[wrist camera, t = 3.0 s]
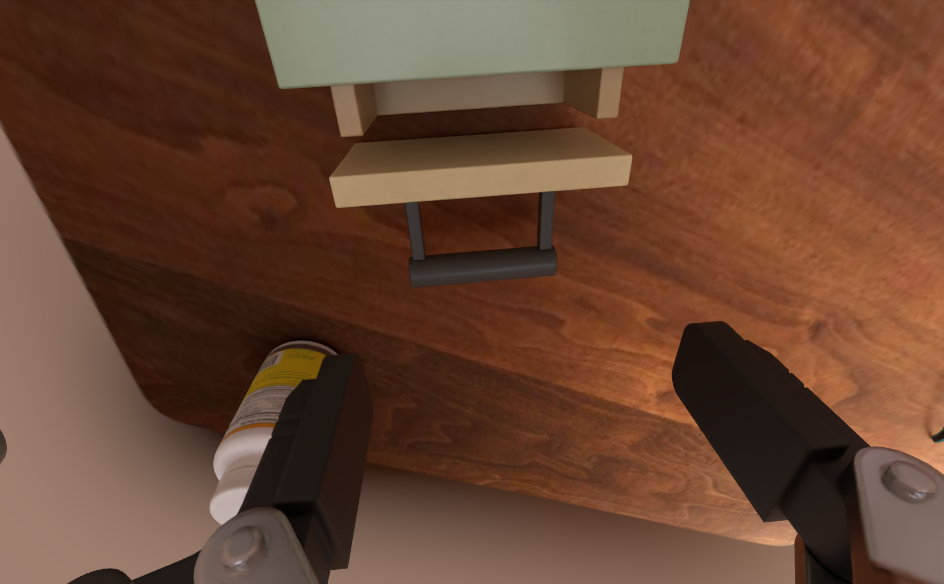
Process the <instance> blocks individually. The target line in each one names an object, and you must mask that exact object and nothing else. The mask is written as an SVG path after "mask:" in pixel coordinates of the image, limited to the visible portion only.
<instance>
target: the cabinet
mask: <svg viewBox="0 0 944 584" xmlns="http://www.w3.org/2000/svg"><path fill="white" fill-rule="evenodd" d="M255 2H256V6H257V10H258V13H259V17H260V20H261V24H262V28H263V31H264V35H265V39H266V42H267V46H268V50H269V53H270V57H271V60H272V64H273V68H274V71H275V75H276V79H277V82H278V86H279V87H280V88H281V89H292V88H307V87H323V86H338V85H353V84H369V83H384V82H400V81H415V80H430V79H446V78H461V77H477V76H492V75H507V74H523V73H538V72H554V71H569V70H584V69H600V68H615V67H630V66H646V65H661V64H675V63H677V62H678V59H679V54H680V49H681V43H682V38H683V33H684V28H685V22H686V17H687V12H688V7H689V2H690V0H255Z"/></svg>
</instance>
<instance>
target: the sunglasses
mask: <svg viewBox="0 0 944 584" xmlns="http://www.w3.org/2000/svg"><path fill="white" fill-rule="evenodd" d="M931 438H932V440H933V441H934V442H935V443H939V442H943V441H944V427H943V429H942V430H941V431H940V432H939V433H937V434H935V435H933V436H931Z"/></svg>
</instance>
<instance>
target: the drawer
mask: <svg viewBox="0 0 944 584" xmlns="http://www.w3.org/2000/svg"><path fill="white" fill-rule="evenodd" d="M623 71H624V67H615V68H600V69H584V70H569V71H554V72H538V73H523V74H507V75H492V76H477V77H461V78H446V79H430V80H415V81H400V82H384V83H369V84H353V85H338V86H330V88H331V93H332V97H333V102H334V107H335V111H336V116H337V121H338V125H339V130H340V135H341V136H342V137H350V136H362V135H363V134H364V133H365V132H366V130H367V129H368V128H369V126H370V125H371V124H372V122H373V121H374V119H375V118H376V117H377V116H379V115H394V114H408V113H423V112H437V111H452V110H467V109H481V108H496V107H511V106H525V105H540V104H555V103H565V104H567V105H569V106H571V107H573V108H575V109H577V110H580V111H582V112H584V113H586V114H588V115H590V116H592V117H594V118H596V119H606V118H616V117H617V116H618V110H619V102H620V94H621V87H622V79H623ZM631 162H632V154H630V153H628V152H626V151H625V150H623V149H621V148H619V147H618V146H616V145H614V144H612V143H611V142H609V141H607V140H605V139H604V138H602V137H600V136H599V135H597V134H595V133H593V132H592V131H590V130H588V129H586V128H585V127H578V128H564V129H550V130H536V131H522V132H508V133H493V134H479V135H465V136H451V137H437V138H423V139H409V140H395V141H381V142H367V143H355V144H354V145H353V147H352V148H351V149H350V151H349V152H348V153H347V155H346V156H345V157H344V159H343V160H342V161H341V163H340V164H339V165H338V167H337V168H336V169H335V171H334V172H333V173H332V175H331V176H330V177H329V180H330V184H331V188H332V192H333V196H334V201H335V205H336V207H337V208H342V207H355V206H368V205H381V204H394V203H404V204H405V211H406V218H407V224H408V231H409V238H410V245H411V252H412V257H410V258H409V274H410V281H411V285H412V287H413V288H415V287H427V286H438V285H450V284H462V283H473V282H485V281H496V280H508V279H519V278H531V277H543V276H554V275H555V274H556V271H557V255H556V250H555V248H554V246H553V245H552V233H553V216H554V199H555V191H561V190H574V189H587V188H600V187H613V186H626V185H628V181H629V175H630V168H631ZM535 192H539V205H538V231H537V246H534V247H522V248H510V249H498V250H486V251H474V252H462V253H450V254H438V255H426V256H425V254H426V253H425V246H424V238H423V230H422V222H421V214H420V206H419V201H432V200H445V199H458V198H471V197H484V196H497V195H510V194H523V193H535Z"/></svg>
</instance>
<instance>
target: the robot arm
mask: <svg viewBox="0 0 944 584" xmlns="http://www.w3.org/2000/svg"><path fill="white" fill-rule="evenodd" d="M672 382H673V386H674V389H675V391H676V393H677V395H678V397H679V398H680V400H681V401H682V403H683V404H684V405H685V407H686V408H687V410H688V411H689V413H690V414H691V416H692V417H693V419H694V420H695V422H696V423H697V425H698V426H699V428H700V429H701V431H702V432H703V433H704V435H705V436H706V438H707V439H708V441H709V442H710V444H711V445H712V447H713V448H714V450H715V451H716V453H717V454H718V456H719V457H720V459H721V460H722V461H723V463H724V464H725V466H726V467H727V469H728V470H729V472H730V473H731V475H732V476H733V478H734V479H735V481H736V482H737V484H738V485H739V487H740V488H741V489H742V491H743V492H744V494H745V495H746V497H747V498H748V500H749V501H750V503H751V504H752V506H753V507H754V509H755V510H756V512H757V513H758V515H759V516H760V517H761V519H762V520H763V522H773V521H782V520H789V522H790V523H791V525H792V526H793V527H794V529H795V530H796V531H797V533H798V534H797V536H796V538H795V584H944V475H943V474H942V473H941V472H939V471H938V470H937V469H935V468H933V467H932V466H930V465H929V464H927V463H925V462H923V461H922V460H920V459H918V458H916V457H913V456H911V455H909V454H906V453H904V452H901V451H898V450H894V449H890V448H885V447H871V446H870V445H869V444H867V443H866V442H865V441H864V440H863V439H862V438H861V437H860V436H859V435H858V434H857V433H856V432H854V431H853V430H852V429H851V428H850V427H849V426H848V425H847V424H846V423H845V422H844V421H843V420H842V419H841V418H840V417H838V416H837V415H836V414H835V413H834V412H833V411H832V410H831V409H830V408H829V407H828V406H827V405H826V404H825V403H824V402H822V401H821V400H820V399H819V398H818V397H817V396H816V395H815V394H814V393H813V392H812V391H811V390H810V389H809V388H805V387H804V384H803V383H802V382H801V381H800V380H799V379H798V378H797V377H796V376H795V375H794V374H793V373H791V374H790V373H789V370H788V369H787V368H786V367H785V366H784V365H783V364H782V363H781V362H780V361H779V360H778V359H777V358H775V357H774V356H773V355H772V354H771V353H770V352H768V351H766V350H764V349H763V348H761V347H759V346H757V345H756V344H754V343H752V342H750V341H749V340H744V339H743V338H742V337H741V336H739V335H738V334H737V333H736V332H735V331H734V330H733V329H732V328H731V327H730V326H729V325H728V324H727V323H725V322H723V321H715V322H703V323H691V324H688V325H687V326H686V327H685V329H684V332H683V335H682V338H681V342H680V345H679V349H678V352H677V355H676V359H675V362H674V366H673V369H672ZM372 416H373V411H372V400H371V395H370V391H369V387H368V383H367V380H366V376H365V372H364V368H363V364H362V360H361V357H360V355H359V354H358V353H350V354H338V355H327V356H325V357H324V358H323V361H322V363H321V366H320V369H319V372H318V375H317V377H316V379H306V380H302V381H301V382H300V383H299V384H298V386H297V387H296V388H295V389H294V390H293V391H292V392H291V393H290V394H289V395H288V396H287V398H286V400H285V402H284V405H283V407H282V410H281V412H280V414H279V417H278V421H277V422H276V424H275V426H274V429H273V431H272V433H271V439H269V441H268V443H267V445H266V448H265V450H264V453H263V455H262V457H261V460H260V462H259V465H258V467H257V469H256V472H255V474H254V476H253V479H252V481H251V484H250V486H249V488H248V491H247V493H246V496H245V498H244V500H243V503H242V505H241V507H240V509H239V511H238V513H237V515H236V516H234V517H232V518H231V519H230V520H228V521H227V522H225V523H224V524H223V525H222V526H221V527H219V528H218V529H217V530H216V531H215V533H214V534H213V535H212V536H211V537H210V538H209V540H208V541H207V542H206V544H205V545H204V547H203V549H202V550H200V551H198V552H196V553H195V554H193V555H191V556H189V557H187V558H185V559H183V560H180V561H178V562H175V563H173V564H170V565H168V566H166V567H163V568H161V569H158V570H156V571H153V572H151V573H148V574H146V575H144V576H141V577H139V578H137V579H134V580H131V579H130V578H129V577H128V576H127V575H126V574H125V573H123V572H122V571H120V570H118V569H111V568H110V569H101V570H96V571H93V572H90V573H87V574H85V575H83V576H80V577H78V578H76V579H75V580H73V581H71V582H69V583H68V584H328V579H329V574H330V570H337V569H346V568H348V564H349V558H350V552H351V546H352V540H353V533H354V528H355V522H356V515H357V510H358V504H359V497H360V492H361V486H362V480H363V473H364V468H365V462H366V456H367V450H368V444H369V438H370V432H371V426H372Z"/></svg>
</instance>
